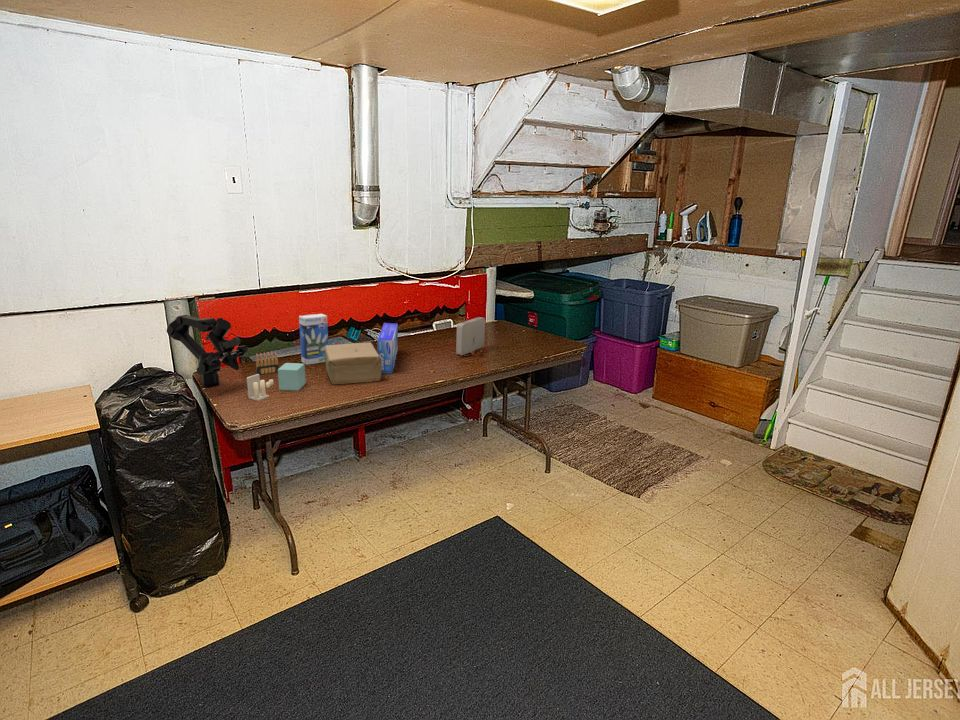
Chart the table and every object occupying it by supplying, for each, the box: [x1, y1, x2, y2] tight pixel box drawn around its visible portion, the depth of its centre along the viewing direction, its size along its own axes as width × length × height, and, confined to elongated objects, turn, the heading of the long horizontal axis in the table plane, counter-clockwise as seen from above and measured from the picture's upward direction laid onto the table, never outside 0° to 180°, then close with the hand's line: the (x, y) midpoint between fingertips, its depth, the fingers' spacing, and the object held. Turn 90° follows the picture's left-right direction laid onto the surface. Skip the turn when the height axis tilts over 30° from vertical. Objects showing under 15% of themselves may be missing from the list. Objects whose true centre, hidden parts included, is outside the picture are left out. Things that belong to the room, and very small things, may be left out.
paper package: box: [324, 341, 382, 385], centre depth 275 cm, size 27×26×14 cm
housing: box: [277, 362, 307, 391], centre depth 254 cm, size 9×10×10 cm
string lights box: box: [298, 313, 329, 366], centre depth 292 cm, size 13×8×26 cm, turn 129°
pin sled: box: [246, 374, 270, 402], centre depth 239 cm, size 6×6×10 cm
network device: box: [455, 316, 486, 356], centre depth 320 cm, size 26×9×20 cm, turn 148°
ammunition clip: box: [255, 350, 280, 376], centre depth 271 cm, size 11×2×12 cm, turn 122°
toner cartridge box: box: [376, 322, 399, 374], centre depth 297 cm, size 39×8×18 cm, turn 5°
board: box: [265, 378, 274, 389], centre depth 255 cm, size 12×7×3 cm, turn 89°
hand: (238, 369), depth 243 cm, fingers closed
